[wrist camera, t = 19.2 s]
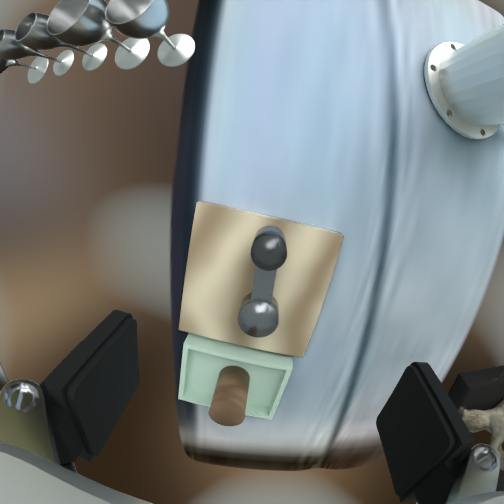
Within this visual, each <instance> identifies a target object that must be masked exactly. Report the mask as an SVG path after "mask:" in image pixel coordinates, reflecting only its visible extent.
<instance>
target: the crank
mask: <svg viewBox="0 0 504 504" xmlns="http://www.w3.org/2000/svg"><path fill="white" fill-rule="evenodd" d="M286 258H287V247H286V239H285V235H284V233H283V232H282V230H281V229H279V228H278V227H276V226H272V225H268V226H264V227H262V228H260V229H259V230H258V231H257V233H256V235H255V238H254V241H253V244H252V247H251V259H252V261H253V263H254V264H255V272H254V279H253V287H252V293H250V294H248V295H247V296H246V297H245V298H244V299H243V301H242V303H241V307H240V311H239V315H238V324H239V326H240V328H241V329H242V331H243V332H244V333H246V334H247V335H249V336H252V337H258V338H259V337H266V336H268V335H270V334H272V333H273V332H274V331H275V330H276V328H277V326H278V323H279V306H278V303H277V300H276V299H275V298H274V297H273V290H274V284H275V277H276V271H277V269H278V268H280V267H281V266H282V265H283V264H284V263H285V261H286Z"/></svg>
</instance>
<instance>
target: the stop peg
mask: <svg viewBox="0 0 504 504" xmlns="http://www.w3.org/2000/svg"><path fill="white" fill-rule="evenodd" d="M249 381H250V376H249V373H248V372H247V371H246V370H245V369H243V368H242V367H239V366H226V367H224V368H223V369H222V370H221V371H220V373H219V377H218V380H217V384H216V388H215V391H214V395H213V399H212V402H211V406H210V410H209V416H210V418H211V419H212V420H213V421H215V422H216V423H218V424H221V425H224V426H236V425H239V424H241V423H242V422H243V421H244V418H245V411H246V403H247V396H248V389H249Z"/></svg>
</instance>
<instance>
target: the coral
mask: <svg viewBox="0 0 504 504" xmlns="http://www.w3.org/2000/svg"><path fill="white" fill-rule="evenodd" d="M448 395H449V397H450V398H451V400H452V402H453V403H454V405H455V407H456V409H457V410H458V412H459V414H460V415H461V417H462V419H463V421H464V422H465V424H466V426H467V428H468V430H469V431H470V432H473V433H475V432H478V431H481V430H488V432H491V441H490V444H489V446H490V447H492V448H493V449H494V450H495V451H496V452H497V454H498V455H499V458H500V469H501V470H503V471H504V452H503V451H502V447H501V445H502V443H503V442H504V366H499V367H493V368H489V369H482V370H476V371H469V372H463V373H459V375H458V376H457V378H456V380H455V382H454V384H453V386H452V387H451V389H450V391H449V393H448Z"/></svg>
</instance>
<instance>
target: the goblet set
mask: <svg viewBox="0 0 504 504" xmlns="http://www.w3.org/2000/svg"><path fill="white" fill-rule="evenodd" d="M168 19H169V7H168V4H167V1H166V0H110V2H109V3H108V4H107V3H106V1H104V0H61V1H60V2H59V3H58V4H57V5H56V6H55V8H54V9H53V10H52V12H51V14H50V16H48V15H45V14H41V13H37V12H32V13H30V14H28V15H27V16H26V17H25V18H24V19H23V20H22V21H21V22H20V24H19V25H18V27H17V29H16V31H15V30H10V29H2V30H0V74H1V73H2V72H3V71H5V70H6V69H7V68H9V67H11V66H23V67H28V68H29V71H28V81H29V82H30V83H31V84H33V83H37V82H38V81H39V80H40V79H41V78H42V77H43V75H44V74H45V72H46V70H47V67H48V59H51V60H54V61H55V63H54V66H53V71H54V73H55V74H56V75H58V76H59V75H63V74H64V73H65V72H67V71H68V69H69V68H70V67H71V65H72V63H73V59H74V55H73V52H72V51H71V50H66V51H64V52H62V53H61V54H60V55H59V56H58V57H57V59H55V58H53V57H50V56H48V55H46V54H43V53H41V52H40V51H38V50H50V49H55V48H61V47H67V48H72V49H75V50H78V51H80V52H83V53H85V55H84V57H83V60H82V64H83V67H84V69H86V70H94V69H96V68H98V67H99V66H100V65H101V64H102V63H103V61H104V60H105V58H106V55H107V48H106V46H105V45H104V44H101V43H99V44H95V43H98V42H100V41H103V40H108V41H111V42H113V43H115V44H117V45H119V48H118V49H117V51H116V54H115V62H116V64H117V66H118V67H119V68H121V69H132V68H134V67H136V66H138V65H139V64H141V63H142V62H143V61H144V60H145V58H146V57H147V55H148V53H149V48H150V45H149V41H148V40H147V39H146V38H150V37H153V36H157V37H159V38H161V39H163V40H164V41H163V42H162V43H161V45H160V47H159V49H158V59H159V61H160V62H161V63H162V64H163V65H165V66H169V67H175V66H179V65H182V64H184V63H185V62H187V61H188V60H189V59H190V58H191V56H192V55H193V53H194V50H195V43H194V40H193V39H192V38H191V37H190V36H188V35H186V34H175V35H172V36H170V37H167V36H166V34H165V32H164V28H165V26H166V25H167V22H168ZM112 26H113V27H114V28H115V29H116V30H117V31H118V32H119V33H121V34H123V35H125V36H127V37H130V38H128V39H127V40H125V41H124V42H123V43H121V42H120V41H119V40H117V39H116V38H115V37H114V36H113V34H112V32H111V29H112ZM92 44H95V45H93V46H92V47H90V48H89V49H88V50H87V51H85V50H83V49H81V48H79V47H77V46H88V45H92ZM30 56H38V57H37V58H36V59H35V60H34V61H33V63H32V64H31V66H29V65H26V64H23V63H20V62H18V61H17V60H16V59H21V58H25V57H30Z"/></svg>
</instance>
